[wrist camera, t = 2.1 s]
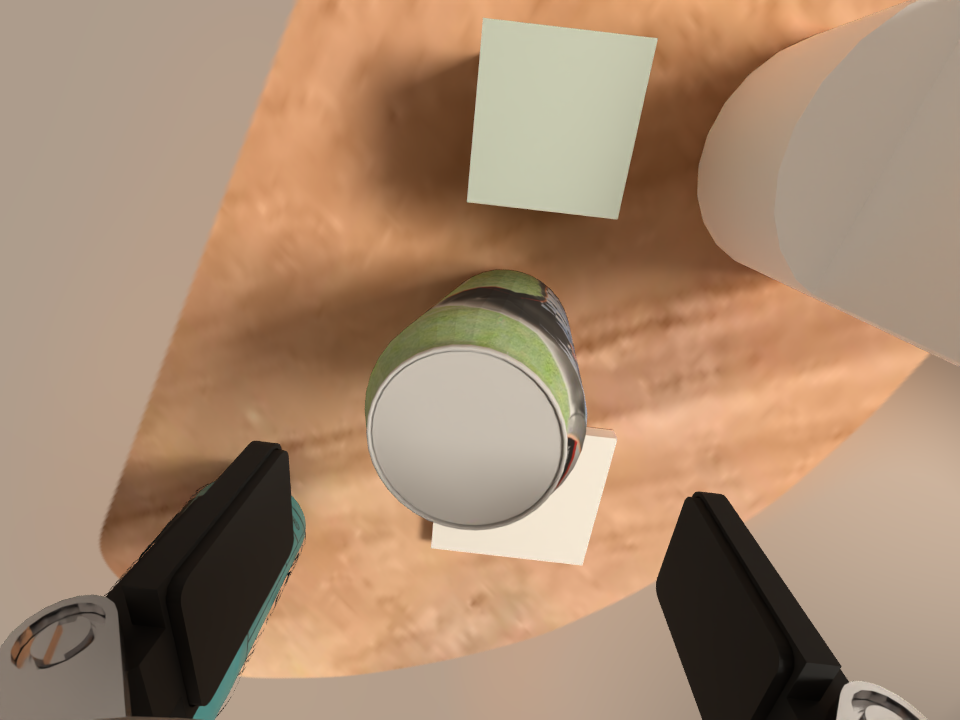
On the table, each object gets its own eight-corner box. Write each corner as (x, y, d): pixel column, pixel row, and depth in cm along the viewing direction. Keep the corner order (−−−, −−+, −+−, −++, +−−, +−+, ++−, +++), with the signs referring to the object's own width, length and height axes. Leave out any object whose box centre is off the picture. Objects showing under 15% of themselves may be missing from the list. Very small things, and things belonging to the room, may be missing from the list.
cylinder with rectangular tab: (763, -2, 17) (1273, -297, 6) (989, 68, 17) (1853, -78, 6) (661, 244, 20) (849, 355, 9) (850, 295, 21) (1235, 456, 10)
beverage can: (502, 404, 24) (503, 618, 13) (393, 309, 22) (285, 466, 11) (596, 322, 22) (690, 495, 11) (483, 210, 20) (462, 283, 9)
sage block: (487, 52, 18) (483, 17, 13) (617, 67, 18) (657, 38, 13) (474, 190, 20) (466, 201, 15) (590, 203, 20) (617, 219, 15)
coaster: (444, 410, 24) (442, 418, 23) (614, 430, 24) (617, 438, 23) (433, 537, 28) (431, 548, 27) (580, 554, 28) (582, 565, 27)
